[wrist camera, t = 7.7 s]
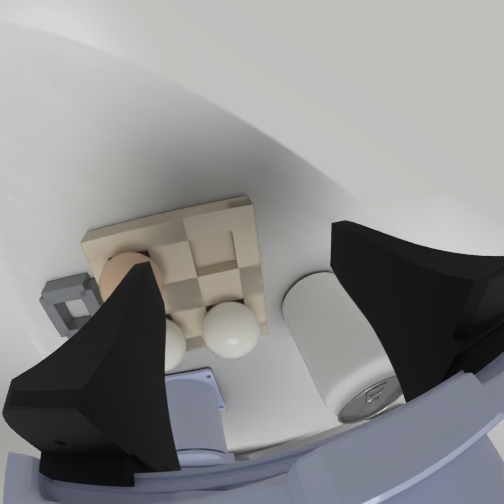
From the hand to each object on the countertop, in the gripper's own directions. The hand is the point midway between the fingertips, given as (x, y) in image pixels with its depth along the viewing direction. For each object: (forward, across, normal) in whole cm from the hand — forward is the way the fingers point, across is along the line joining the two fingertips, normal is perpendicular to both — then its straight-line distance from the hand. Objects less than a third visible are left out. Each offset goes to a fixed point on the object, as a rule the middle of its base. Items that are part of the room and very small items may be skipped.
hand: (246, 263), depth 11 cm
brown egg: (+6, +7, +4) cm, 10 cm away
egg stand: (+10, +14, +7) cm, 18 cm away
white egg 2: (+6, +1, +10) cm, 12 cm away
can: (+10, -7, +12) cm, 17 cm away
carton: (+10, +4, +7) cm, 13 cm away
